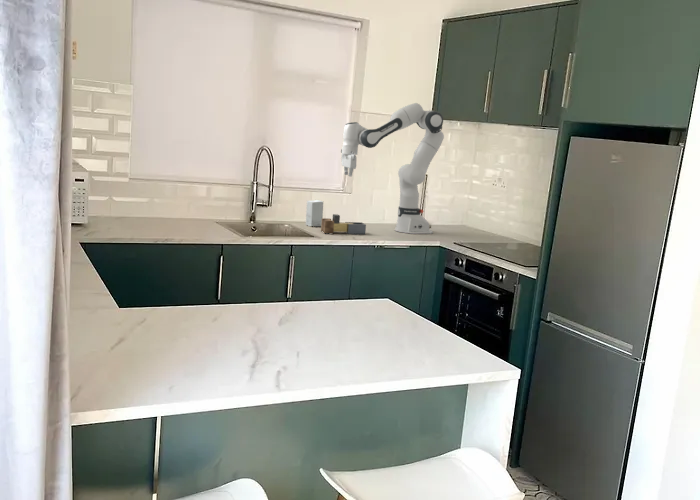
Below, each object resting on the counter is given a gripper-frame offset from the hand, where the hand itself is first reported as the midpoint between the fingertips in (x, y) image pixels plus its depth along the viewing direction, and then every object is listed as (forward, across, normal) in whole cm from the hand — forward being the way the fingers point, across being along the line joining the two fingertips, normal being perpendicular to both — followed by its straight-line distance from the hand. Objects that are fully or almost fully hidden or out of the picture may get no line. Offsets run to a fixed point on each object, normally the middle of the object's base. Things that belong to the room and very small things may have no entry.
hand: (348, 175), depth 403 cm
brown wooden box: (+31, -12, +13) cm, 36 cm away
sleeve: (+31, -12, -3) cm, 33 cm away
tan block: (+31, -12, +5) cm, 34 cm away
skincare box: (+31, +10, +16) cm, 37 cm away
